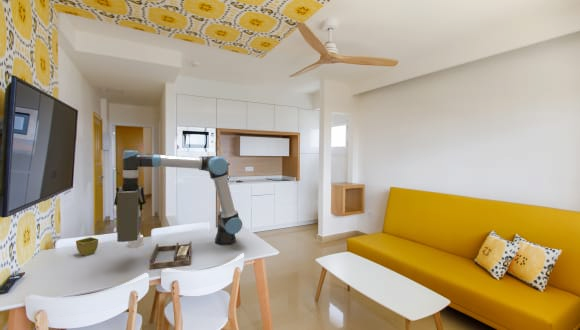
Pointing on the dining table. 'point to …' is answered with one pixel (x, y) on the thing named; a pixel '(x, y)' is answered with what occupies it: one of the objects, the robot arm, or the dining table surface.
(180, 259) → the block
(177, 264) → the rack
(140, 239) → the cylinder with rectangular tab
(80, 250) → the flower pot
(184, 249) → the offcut top
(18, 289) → the dining table surface
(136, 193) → the book
